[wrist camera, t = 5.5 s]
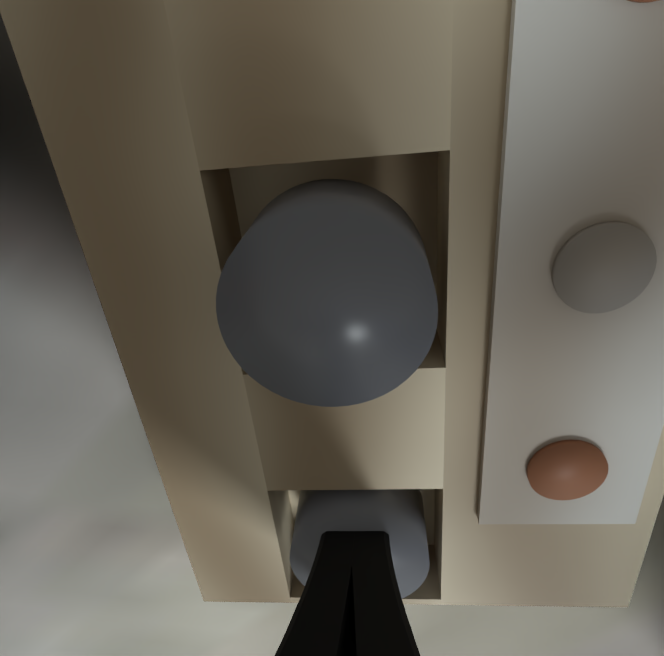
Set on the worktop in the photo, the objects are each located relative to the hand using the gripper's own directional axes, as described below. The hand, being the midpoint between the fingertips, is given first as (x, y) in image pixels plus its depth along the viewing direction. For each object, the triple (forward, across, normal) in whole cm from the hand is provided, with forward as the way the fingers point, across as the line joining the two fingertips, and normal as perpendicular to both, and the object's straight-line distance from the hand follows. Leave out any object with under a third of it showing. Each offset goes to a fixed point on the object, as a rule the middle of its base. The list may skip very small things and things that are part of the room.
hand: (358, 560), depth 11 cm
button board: (+2, -1, -6) cm, 7 cm away
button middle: (0, 0, -7) cm, 7 cm away
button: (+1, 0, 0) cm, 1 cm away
